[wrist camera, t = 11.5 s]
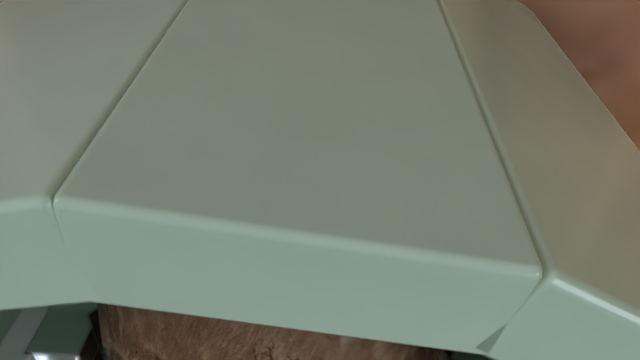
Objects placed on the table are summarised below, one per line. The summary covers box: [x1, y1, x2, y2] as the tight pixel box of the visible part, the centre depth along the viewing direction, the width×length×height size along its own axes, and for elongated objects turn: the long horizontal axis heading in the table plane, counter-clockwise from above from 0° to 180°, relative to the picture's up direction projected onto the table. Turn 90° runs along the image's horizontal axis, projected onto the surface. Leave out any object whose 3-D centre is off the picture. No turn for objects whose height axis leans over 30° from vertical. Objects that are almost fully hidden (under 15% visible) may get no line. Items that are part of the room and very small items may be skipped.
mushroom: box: [97, 303, 450, 360], centre depth 11 cm, size 8×8×6 cm
